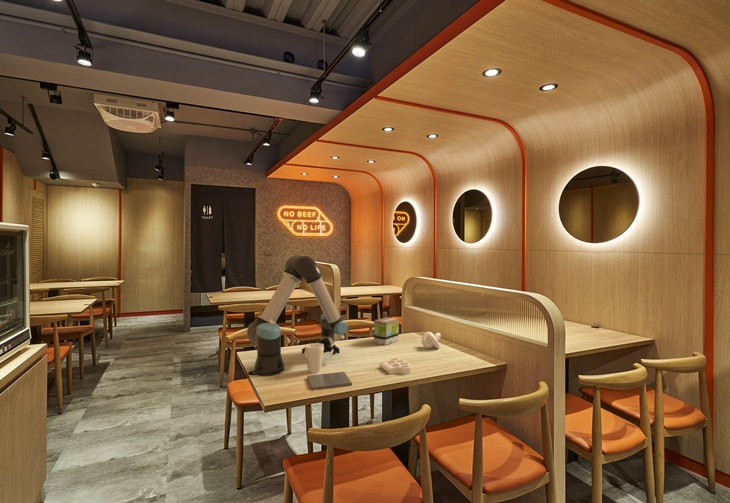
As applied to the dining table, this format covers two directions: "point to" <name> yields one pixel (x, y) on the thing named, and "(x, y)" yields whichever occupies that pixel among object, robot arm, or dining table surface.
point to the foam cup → (314, 357)
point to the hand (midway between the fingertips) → (317, 355)
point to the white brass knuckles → (396, 366)
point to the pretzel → (431, 340)
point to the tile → (329, 380)
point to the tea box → (386, 330)
